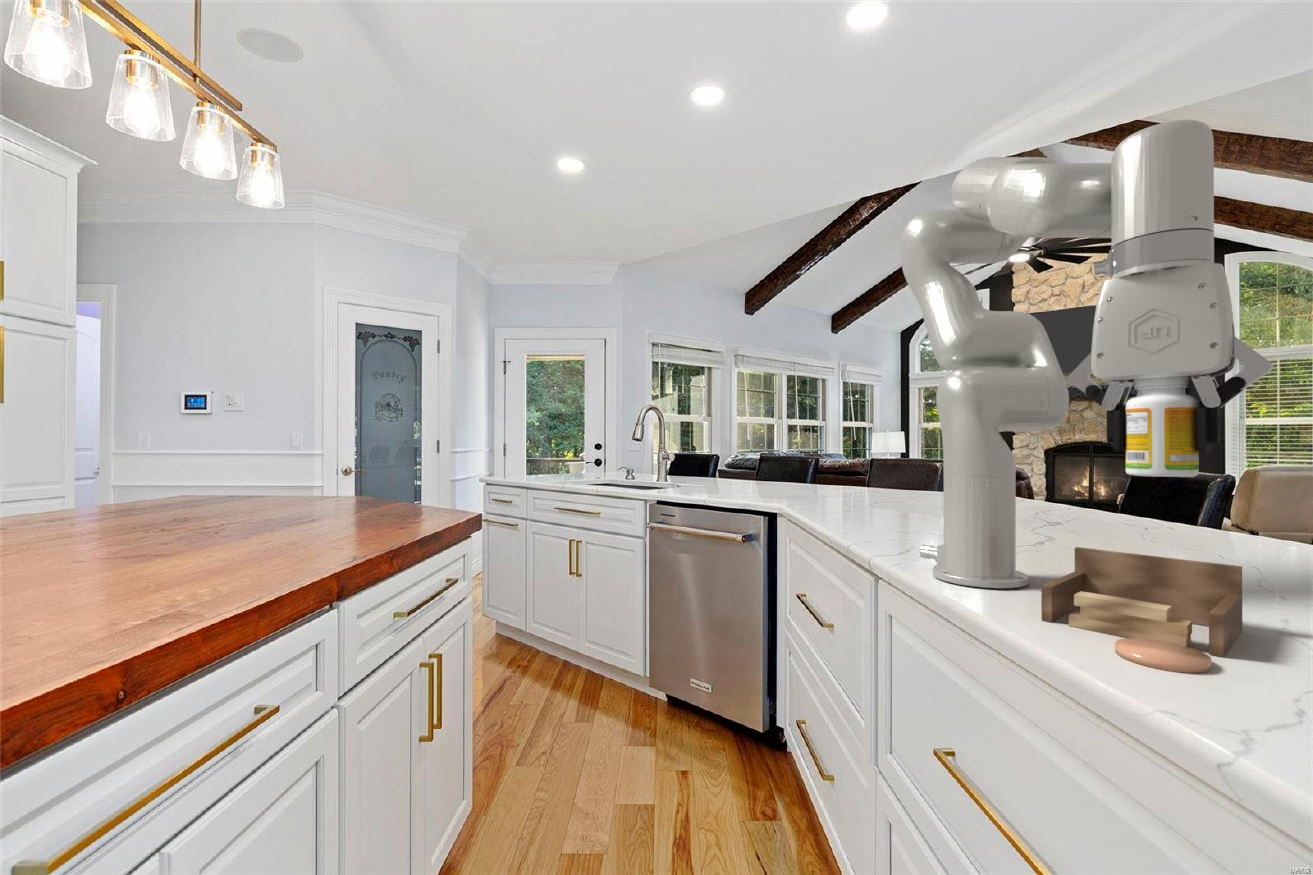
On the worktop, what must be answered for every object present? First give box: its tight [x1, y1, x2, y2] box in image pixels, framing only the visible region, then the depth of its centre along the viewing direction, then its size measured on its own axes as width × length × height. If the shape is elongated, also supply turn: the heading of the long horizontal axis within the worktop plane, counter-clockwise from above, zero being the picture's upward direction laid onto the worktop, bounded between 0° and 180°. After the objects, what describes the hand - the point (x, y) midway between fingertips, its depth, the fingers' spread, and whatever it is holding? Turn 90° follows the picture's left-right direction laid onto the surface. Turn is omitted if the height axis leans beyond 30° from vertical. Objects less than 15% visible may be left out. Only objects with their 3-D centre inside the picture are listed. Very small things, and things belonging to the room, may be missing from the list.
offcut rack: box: [1041, 546, 1243, 658], centre depth 68 cm, size 15×13×7 cm
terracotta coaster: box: [1114, 638, 1212, 674], centre depth 57 cm, size 7×7×1 cm
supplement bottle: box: [1124, 376, 1200, 478], centre depth 58 cm, size 5×5×10 cm
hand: (1160, 449), depth 58 cm, fingers closed on supplement bottle, 5 cm apart
